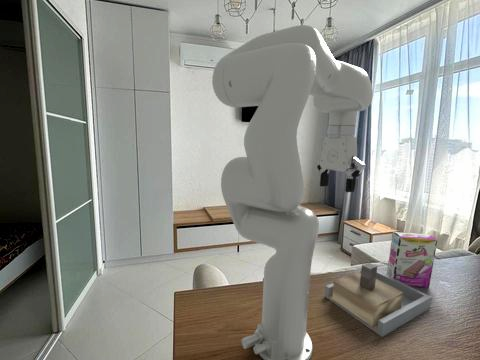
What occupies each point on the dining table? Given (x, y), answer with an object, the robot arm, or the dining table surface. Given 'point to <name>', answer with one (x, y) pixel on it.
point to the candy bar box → (412, 258)
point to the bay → (410, 309)
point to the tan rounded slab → (367, 295)
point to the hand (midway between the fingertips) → (336, 188)
